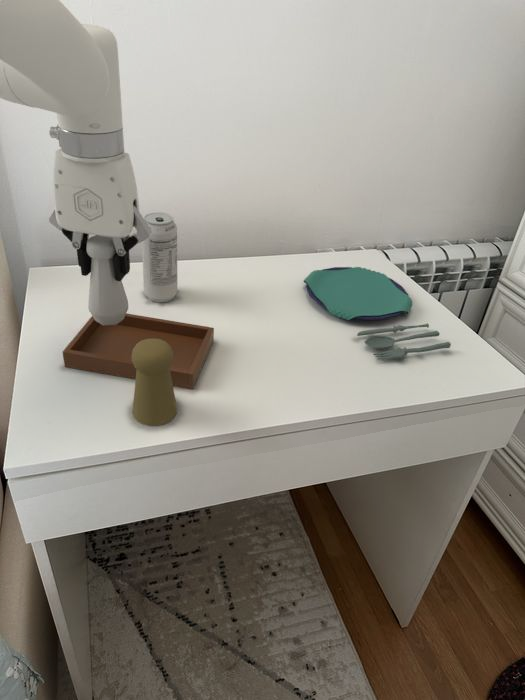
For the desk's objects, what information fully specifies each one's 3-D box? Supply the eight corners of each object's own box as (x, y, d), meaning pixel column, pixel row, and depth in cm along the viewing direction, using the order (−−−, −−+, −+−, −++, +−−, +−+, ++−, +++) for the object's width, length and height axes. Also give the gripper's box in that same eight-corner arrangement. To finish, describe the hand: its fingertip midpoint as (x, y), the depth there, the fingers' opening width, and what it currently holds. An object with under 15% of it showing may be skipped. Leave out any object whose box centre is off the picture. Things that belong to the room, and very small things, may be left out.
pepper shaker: (130, 398, 75) (126, 333, 68) (174, 394, 76) (173, 330, 70) (133, 428, 70) (128, 361, 64) (179, 423, 72) (179, 357, 65)
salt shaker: (124, 305, 84) (118, 227, 76) (134, 324, 80) (128, 244, 72) (86, 312, 82) (75, 232, 74) (94, 331, 77) (84, 249, 70)
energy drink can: (173, 286, 102) (172, 210, 93) (181, 301, 97) (180, 223, 88) (141, 289, 100) (137, 212, 91) (148, 305, 95) (144, 226, 86)
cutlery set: (375, 271, 114) (377, 261, 113) (460, 352, 92) (464, 341, 90) (289, 279, 108) (290, 268, 107) (357, 367, 85) (360, 356, 84)
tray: (64, 366, 79) (62, 351, 78) (99, 322, 89) (98, 308, 88) (192, 389, 78) (193, 374, 76) (213, 341, 88) (214, 327, 86)
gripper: (11, 140, 63) (36, 277, 74) (148, 159, 62) (153, 296, 73) (42, 126, 69) (61, 254, 80) (167, 143, 68) (170, 271, 79)
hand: (105, 273), depth 76 cm, fingers closed on salt shaker, 4 cm apart
